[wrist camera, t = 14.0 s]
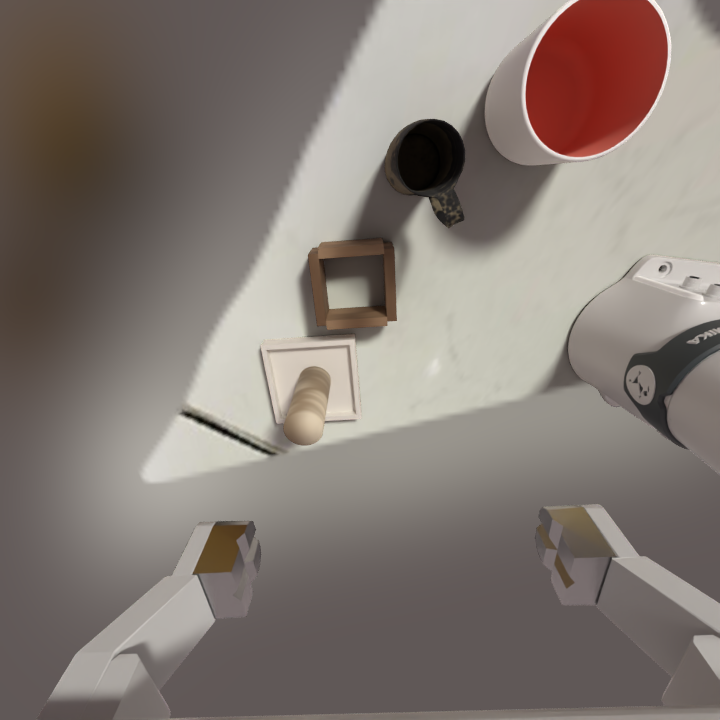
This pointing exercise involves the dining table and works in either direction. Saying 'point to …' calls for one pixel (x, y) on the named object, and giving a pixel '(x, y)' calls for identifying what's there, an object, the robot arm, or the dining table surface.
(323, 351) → the tray
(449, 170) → the mug
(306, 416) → the dowel
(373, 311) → the holder
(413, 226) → the dining table surface
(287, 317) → the dining table surface
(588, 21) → the cup
